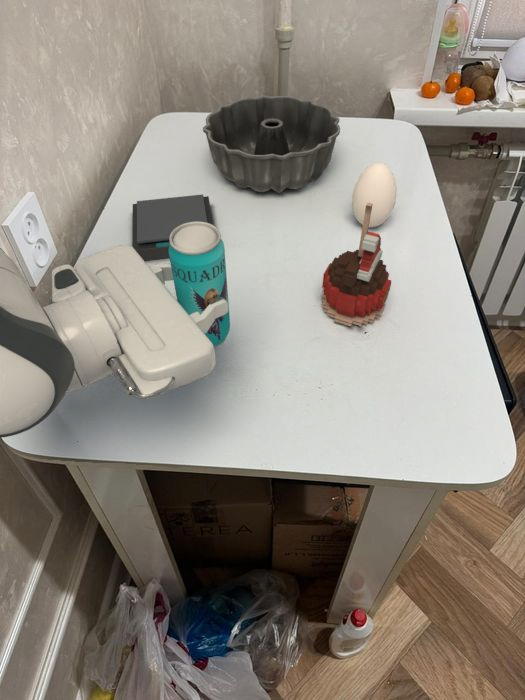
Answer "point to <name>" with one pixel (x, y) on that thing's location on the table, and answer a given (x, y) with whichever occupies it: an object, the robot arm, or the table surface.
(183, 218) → the kitchen scale
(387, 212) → the egg
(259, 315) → the table surface
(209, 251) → the beverage can
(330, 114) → the bundt pan
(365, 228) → the cake
